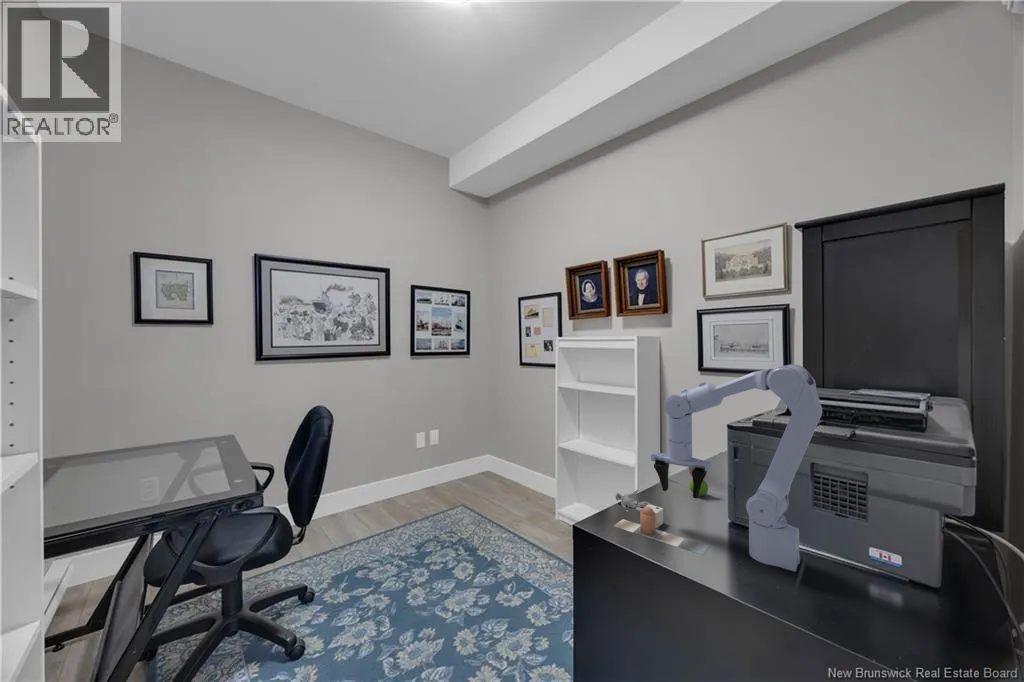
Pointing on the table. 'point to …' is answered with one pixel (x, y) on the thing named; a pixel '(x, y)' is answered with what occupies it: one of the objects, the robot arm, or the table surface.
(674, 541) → the board
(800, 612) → the table surface
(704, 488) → the snail figurine
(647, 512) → the pawn
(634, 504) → the soldier figure
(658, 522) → the die
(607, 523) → the table surface
